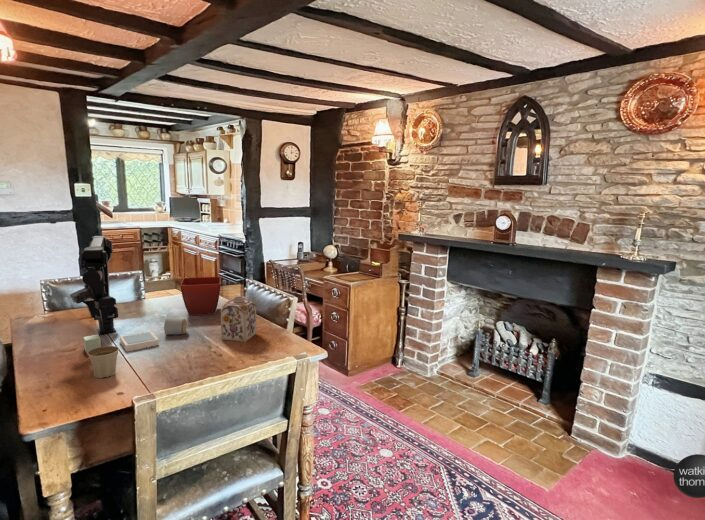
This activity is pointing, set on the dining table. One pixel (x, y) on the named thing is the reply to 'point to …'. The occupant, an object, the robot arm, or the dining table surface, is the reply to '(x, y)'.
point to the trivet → (139, 341)
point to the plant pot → (201, 294)
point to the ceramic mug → (175, 326)
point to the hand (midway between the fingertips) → (98, 320)
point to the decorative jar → (238, 320)
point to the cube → (91, 342)
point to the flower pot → (103, 360)
